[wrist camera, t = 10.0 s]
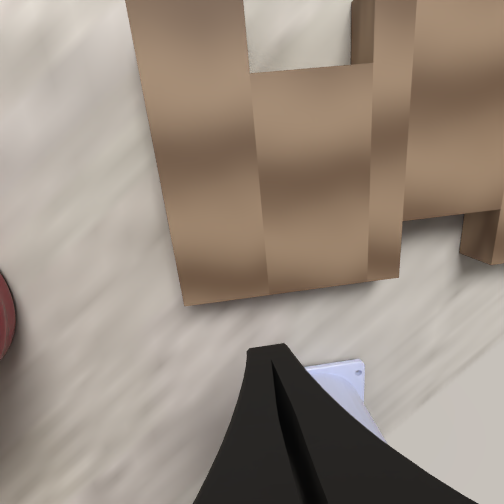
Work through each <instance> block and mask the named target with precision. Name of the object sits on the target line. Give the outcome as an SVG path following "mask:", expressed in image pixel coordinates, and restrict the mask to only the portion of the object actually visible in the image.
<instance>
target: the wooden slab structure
mask: <svg viewBox="0 0 504 504" xmlns="http://www.w3.org/2000/svg"><path fill="white" fill-rule="evenodd" d="M125 2H126V7H127V13H128V18H129V23H130V28H131V33H132V38H133V44H134V49H135V54H136V59H137V64H138V69H139V74H140V80H141V85H142V90H143V95H144V100H145V105H146V111H147V116H148V121H149V126H150V131H151V136H152V141H153V147H154V152H155V157H156V162H157V167H158V172H159V177H160V183H161V188H162V193H163V198H164V203H165V208H166V214H167V219H168V224H169V229H170V234H171V239H172V244H173V250H174V255H175V260H176V265H177V270H178V275H179V281H180V286H181V291H182V296H183V301H184V306H191V305H199V304H206V303H214V302H221V301H228V300H236V299H243V298H251V297H258V296H265V295H273V294H280V293H288V292H295V291H302V290H310V289H317V288H325V287H332V286H339V285H347V284H354V283H362V282H369V281H377V280H384V279H391V278H399V268H400V252H401V237H402V222H403V221H408V220H416V219H425V218H433V217H441V216H449V215H457V214H464V221H463V228H462V236H461V243H460V251H459V253H461V254H463V255H466V256H469V257H471V258H474V259H477V260H479V261H482V262H484V263H487V264H490V265H495V264H502V263H504V0H353V1H352V3H351V65H343V66H331V67H319V68H308V69H296V70H284V71H273V72H261V73H250V72H249V61H248V50H247V38H246V27H245V16H244V5H243V0H125Z"/></svg>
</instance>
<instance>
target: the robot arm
mask: <svg viewBox="0 0 504 504" xmlns="http://www.w3.org/2000/svg"><path fill="white" fill-rule="evenodd" d="M358 370H359V371H358ZM356 371H358V372H356ZM364 376H365V365H364V363H363V362H362V360H360V359H354V360H347V361H341V362H334V363H328V364H321V365H314V366H308V367H303V366H302V364H301V363H300V362H299V361H298V359H297V358H296V357H295V356H294V354H293V353H292V352H291V350H290V349H289V348H288V346H287V345H286V344H284V343H282V344H275V345H269V346H262V347H255V348H249V350H248V351H247V361H246V368H245V373H244V378H243V382H242V386H241V390H240V394H239V398H238V401H237V404H236V407H235V410H234V413H233V416H232V419H231V422H230V424H229V427H228V430H227V432H226V435H225V437H224V440H223V442H222V444H221V447H220V449H219V451H218V454H217V456H216V458H215V460H214V462H213V464H212V467H211V469H210V471H209V473H208V475H207V477H206V479H205V481H204V483H203V485H202V487H201V489H200V491H199V493H198V495H197V497H196V499H195V500H194V502H193V504H478V503H476V502H474V501H473V500H471V499H469V498H467V497H465V496H464V495H462V494H461V493H459V492H457V491H456V490H454V489H453V488H451V487H449V486H448V485H446V484H445V483H443V482H441V481H440V480H438V479H437V478H435V477H434V476H432V475H430V474H429V473H427V472H426V471H424V470H423V469H422V468H420V467H419V466H417V465H416V464H415V463H413V462H412V461H410V460H409V459H407V458H406V457H404V456H403V455H402V454H400V453H399V452H397V451H396V450H394V449H393V448H392V447H390V446H389V445H388V444H387V442H386V440H385V439H384V437H383V435H382V434H381V432H380V430H379V428H378V427H377V425H376V423H375V422H374V420H373V418H372V416H371V415H370V413H369V411H368V410H367V408H366V406H365V405H364Z"/></svg>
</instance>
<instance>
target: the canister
mask: <svg viewBox="0 0 504 504" xmlns="http://www.w3.org/2000/svg"><path fill="white" fill-rule="evenodd" d="M15 323H16V318H15V308H14V303H13V299H12V296H11V293H10V291H9V288H8V286H7V284H6V282H5V280H4V278H3V277H2V275H1V273H0V360H1V359H2V358H3V357H4V355H5V354H6V352H7V350H8V349H9V347H10V344H11V342H12V339H13V336H14V331H15Z"/></svg>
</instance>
